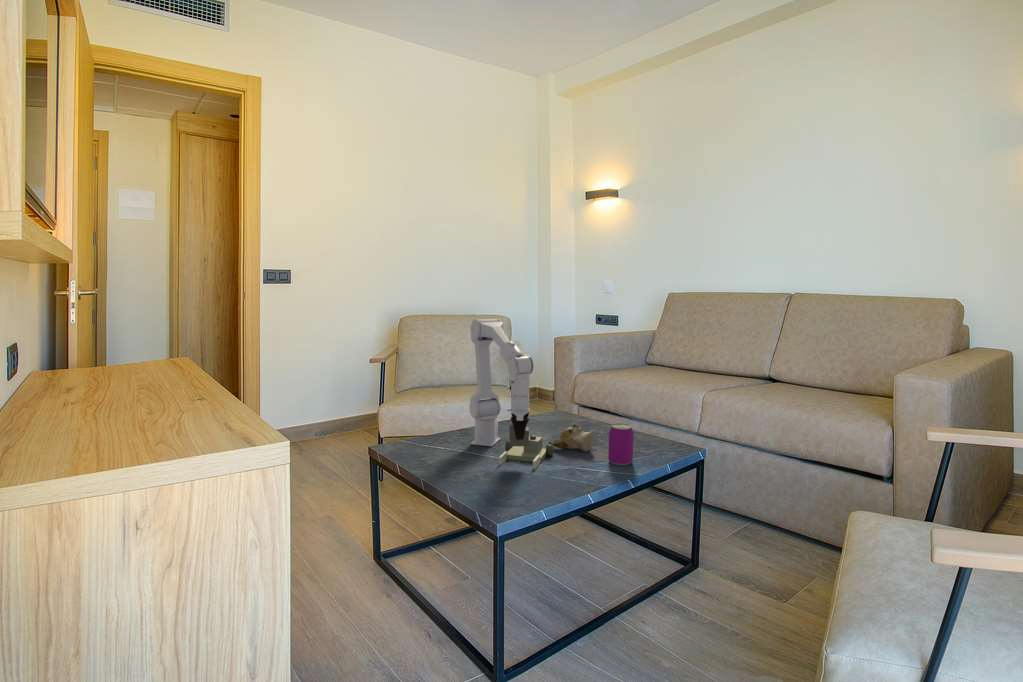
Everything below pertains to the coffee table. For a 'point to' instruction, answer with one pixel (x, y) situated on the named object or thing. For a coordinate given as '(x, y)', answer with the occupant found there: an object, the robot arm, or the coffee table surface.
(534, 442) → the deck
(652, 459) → the coffee table surface
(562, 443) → the ceramic sculpture
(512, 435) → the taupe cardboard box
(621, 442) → the beverage can
